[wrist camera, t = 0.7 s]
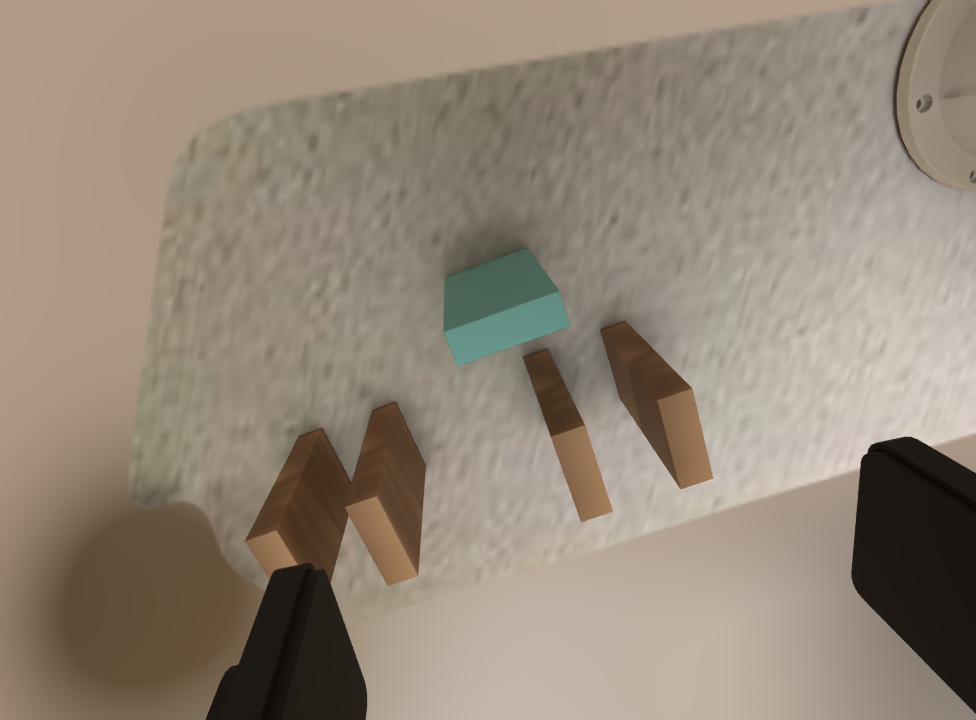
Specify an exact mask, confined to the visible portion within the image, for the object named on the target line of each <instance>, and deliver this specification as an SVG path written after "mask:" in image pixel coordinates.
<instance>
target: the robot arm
mask: <svg viewBox="0 0 976 720" xmlns="http://www.w3.org/2000/svg"><path fill="white" fill-rule="evenodd" d="M897 118H898V123H899V127H900V132H901V137H902V139H903V141H904V143H905V146H906V148H907V150H908V152H909V155H910V156H911V157H912V159H913V160H914V161H915V162H916V164H917V165H918V166H919V167H920V169H921V170H922V171H924V172H925V173H926V174H928V175H929V176H930V177H932V178H933V179H934V180H935V181H938V182H940V183H943V184H945V185H947V186H950V187H952V188H958V189H965V190H971V191H976V0H931V2H930V3H929V5H928V6H927V8H926V9H925V11H924V12H923V14H922V15H921V17H920V19H919V21H918V23H917V25H916V28H915V30H914V32H913V34H912V36H911V38H910V40H909V42H908V45H907V49H906V52H905V55H904V58H903V61H902V64H901V68H900V74H899V81H898V87H897ZM851 574H852V581H853V584H854V586H855V589H856V590H857V592H858V593H859V595H860V596H861V597H862V598H863V599H864V600H865V601H866V602H867V603H868V605H870V607H871V608H872V609H873V610H874V611H876V613H877V614H878V615H879V616H880V617H881V618H882V619H883V620H884V621H885V622H887V624H888V625H889V626H890V627H891V628H892V629H893V630H894V631H895V632H896V633H897V634H898V635H899V636H900V637H901V638H902V639H903V640H904V641H905V642H906V643H907V644H908V645H909V646H910V647H911V648H912V649H913V650H914V651H915V652H916V653H917V654H918V655H919V656H920V657H921V658H922V659H923V661H924V662H925V663H926V664H928V666H930V668H931V669H932V670H933V671H934V672H935V673H936V674H937V675H938V676H939V677H940V678H941V679H942V680H943V681H944V682H945V683H946V684H947V685H948V686H949V687H950V688H951V689H952V690H953V691H954V692H955V693H956V694H957V695H958V696H959V697H960V698H961V699H962V700H963V701H964V702H965V703H966V704H967V705H968V706H969V707H970V708H971V709H972V710H973V711H974V712H975V713H976V473H974V472H973V471H971V470H969V469H967V468H966V467H964V466H962V465H961V464H959V463H957V462H955V461H954V460H952V459H950V458H949V457H947V456H945V455H943V454H942V453H940V452H938V451H937V450H935V449H933V448H931V447H930V446H928V445H926V444H925V443H923V442H921V441H919V440H918V439H915V438H913V437H902V438H897V439H892V440H887V441H883V442H878V443H875V444H872V445H871V446H870V448H869V449H868V453H867V454H865V455H864V456H863V457H862V460H861V467H860V479H859V490H858V503H857V514H856V526H855V537H854V549H853V561H852V572H851ZM366 712H367V690H366V685H365V681H364V678H363V675H362V672H361V669H360V667H359V664H358V661H357V658H356V655H355V652H354V649H353V646H352V644H351V641H350V638H349V635H348V632H347V629H346V627H345V624H344V621H343V618H342V615H341V612H340V610H339V607H338V604H337V601H336V598H335V595H334V592H333V590H332V587H331V584H330V581H329V578H328V575H327V573H326V571H325V570H324V569H319V570H315V568H314V566H313V565H312V564H311V563H304V564H299V565H294V566H290V567H285V568H280V569H276V570H275V571H273V573H272V575H271V578H270V580H269V583H268V586H267V588H266V591H265V594H264V597H263V600H262V602H261V605H260V608H259V610H258V613H257V616H256V619H255V621H254V624H253V627H252V629H251V632H250V635H249V638H248V640H247V643H246V646H245V649H244V651H243V654H242V657H241V660H240V662H239V665H236V666H231V667H230V668H229V669H228V670H227V671H226V672H225V674H224V676H223V678H222V680H221V682H220V684H219V687H218V689H217V692H216V695H215V697H214V699H213V702H212V705H211V707H210V710H209V712H208V715H207V718H206V720H366Z"/></svg>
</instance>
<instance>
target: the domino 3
mask: <svg viewBox="0 0 976 720" xmlns="http://www.w3.org/2000/svg"><path fill="white" fill-rule="evenodd" d="M567 327H570V324H569V321H568V318H567V314H566V311H565V308H564V305H563V302H562V298H561V295H560V292H559V290H558V289H557V287H556V286H555V285H554V283H553V282H552V281H551V279H550V278H549V277H548V275H547V274H546V273H545V271H544V270H543V269H542V267H541V266H540V265H539V263H538V262H537V261H536V259H535V258H534V257H533V255H532V254H531V253H530V251H529V250H528V249H527V248H525V249H522V250H519V251H517V252H514V253H511V254H508V255H506V256H503V257H500V258H497V259H495V260H492V261H489V262H486V263H484V264H481V265H478V266H475V267H473V268H470V269H467V270H464V271H462V272H459V273H456V274H453V275H451V276H448V277H445V298H444V335H445V337H446V340H447V342H448V345H449V347H450V349H451V352H452V354H453V357H454V359H455V362H456V364H457V366H459V365H462V364H465V363H468V362H471V361H473V360H476V359H479V358H482V357H485V356H488V355H490V354H493V353H496V352H499V351H502V350H505V349H507V348H510V347H513V346H516V345H519V344H521V343H524V342H527V341H530V340H533V339H536V338H538V337H541V336H544V335H547V334H550V333H553V332H555V331H558V330H561V329H564V328H567Z"/></svg>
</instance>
